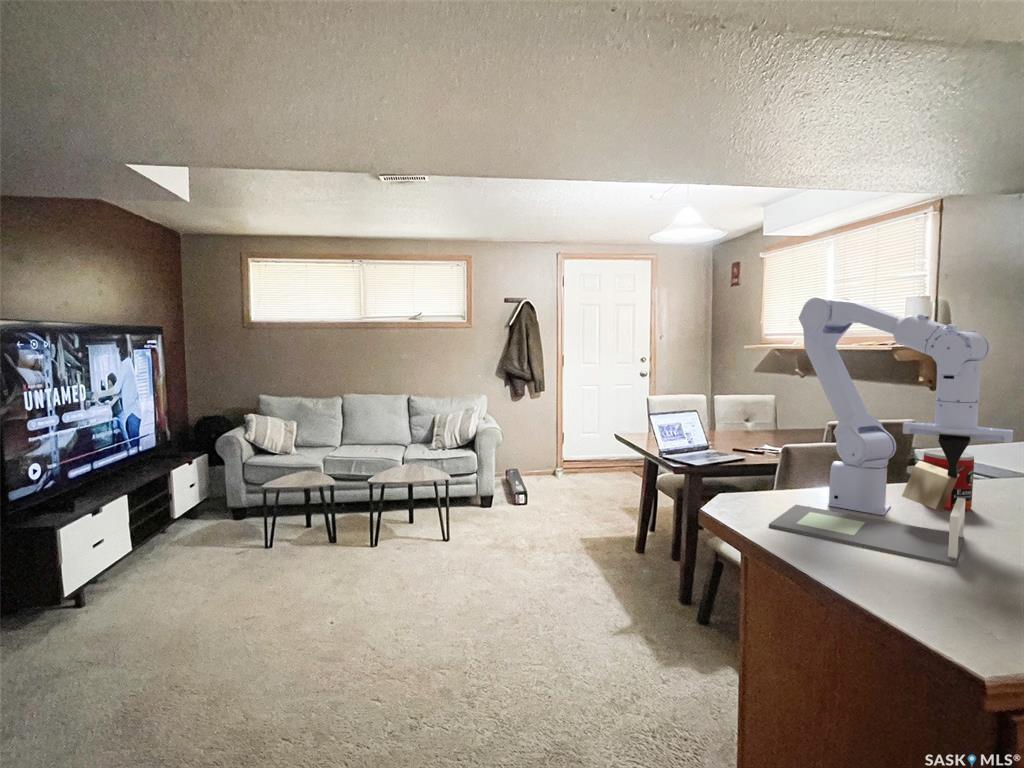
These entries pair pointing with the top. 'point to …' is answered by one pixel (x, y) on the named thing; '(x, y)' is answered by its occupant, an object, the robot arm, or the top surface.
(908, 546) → the rubber mat
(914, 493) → the birch cube
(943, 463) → the canned food
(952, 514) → the gate
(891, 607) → the top surface
